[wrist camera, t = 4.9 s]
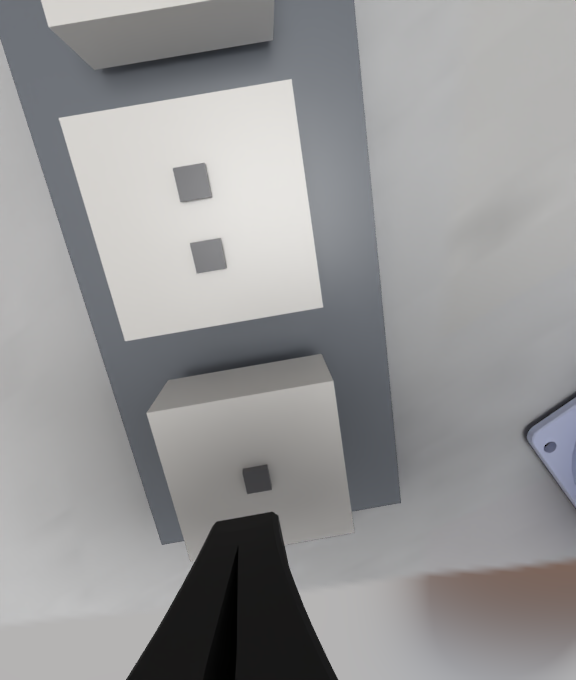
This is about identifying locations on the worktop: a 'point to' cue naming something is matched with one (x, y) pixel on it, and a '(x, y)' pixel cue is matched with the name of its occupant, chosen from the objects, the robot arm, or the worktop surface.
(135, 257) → the key two
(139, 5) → the key three
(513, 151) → the worktop surface
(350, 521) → the key one
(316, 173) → the keypad base
